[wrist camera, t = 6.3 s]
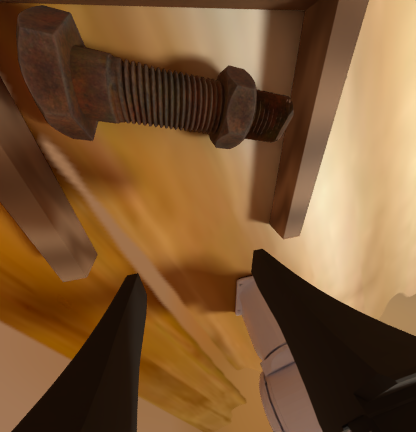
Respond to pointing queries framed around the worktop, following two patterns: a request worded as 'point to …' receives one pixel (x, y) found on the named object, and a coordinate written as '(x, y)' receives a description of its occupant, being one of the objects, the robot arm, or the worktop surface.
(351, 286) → the worktop surface
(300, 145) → the u-shaped bracket
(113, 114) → the bolt
